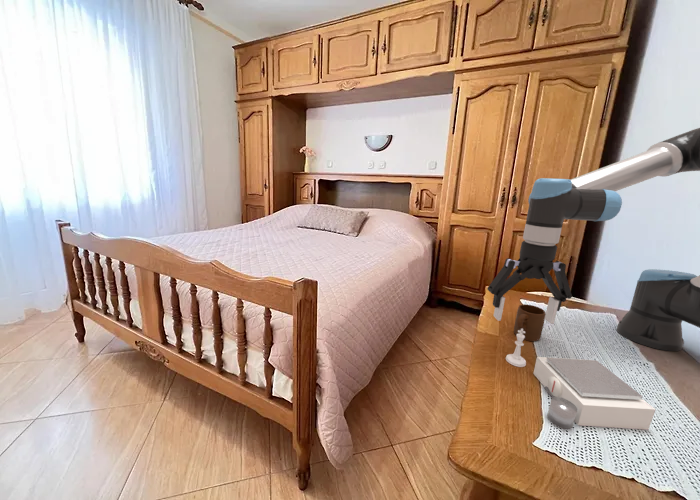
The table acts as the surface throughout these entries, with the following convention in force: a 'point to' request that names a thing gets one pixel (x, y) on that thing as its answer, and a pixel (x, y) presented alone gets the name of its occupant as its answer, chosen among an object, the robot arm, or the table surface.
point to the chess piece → (517, 352)
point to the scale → (595, 403)
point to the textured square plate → (592, 379)
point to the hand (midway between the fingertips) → (522, 320)
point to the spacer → (562, 413)
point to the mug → (530, 321)
